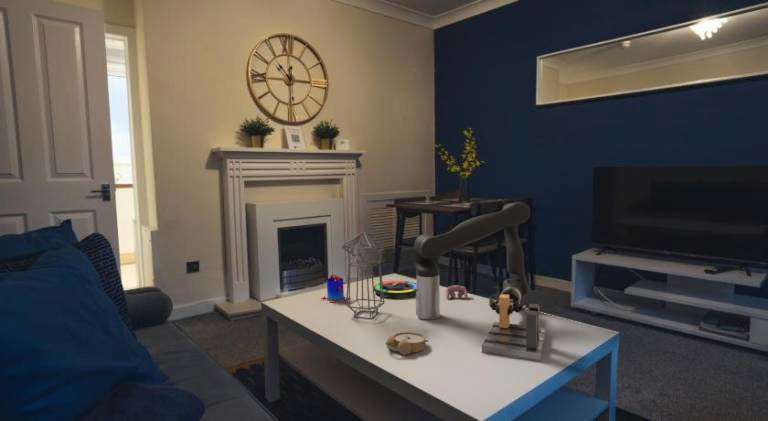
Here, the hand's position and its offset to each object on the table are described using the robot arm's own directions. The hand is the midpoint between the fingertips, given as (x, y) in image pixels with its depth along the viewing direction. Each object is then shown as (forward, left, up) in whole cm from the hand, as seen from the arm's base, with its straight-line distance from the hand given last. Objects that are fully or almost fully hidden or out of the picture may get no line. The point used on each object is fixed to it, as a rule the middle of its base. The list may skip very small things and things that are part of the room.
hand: (503, 311), depth 152 cm
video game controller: (-4, +48, -9) cm, 49 cm away
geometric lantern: (-47, +33, -9) cm, 58 cm away
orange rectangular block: (+1, +2, -6) cm, 7 cm away
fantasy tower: (-60, +57, -9) cm, 83 cm away
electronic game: (-30, +63, -10) cm, 70 cm away
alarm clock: (-36, -4, -9) cm, 37 cm away
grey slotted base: (+2, -6, -9) cm, 11 cm away
